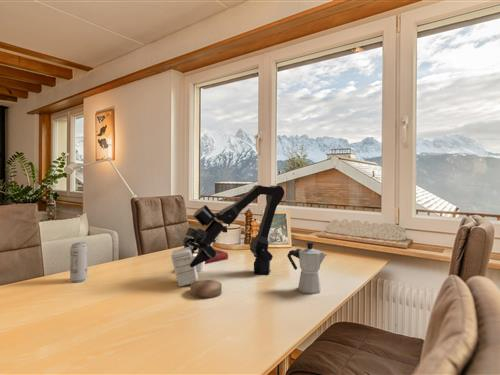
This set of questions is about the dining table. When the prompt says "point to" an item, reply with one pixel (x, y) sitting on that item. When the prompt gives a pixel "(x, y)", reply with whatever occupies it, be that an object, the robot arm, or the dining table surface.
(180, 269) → the supplement box
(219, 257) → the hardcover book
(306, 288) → the coffee maker
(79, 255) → the energy drink can
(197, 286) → the walnut pedestal
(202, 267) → the shot glass
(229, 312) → the dining table surface
